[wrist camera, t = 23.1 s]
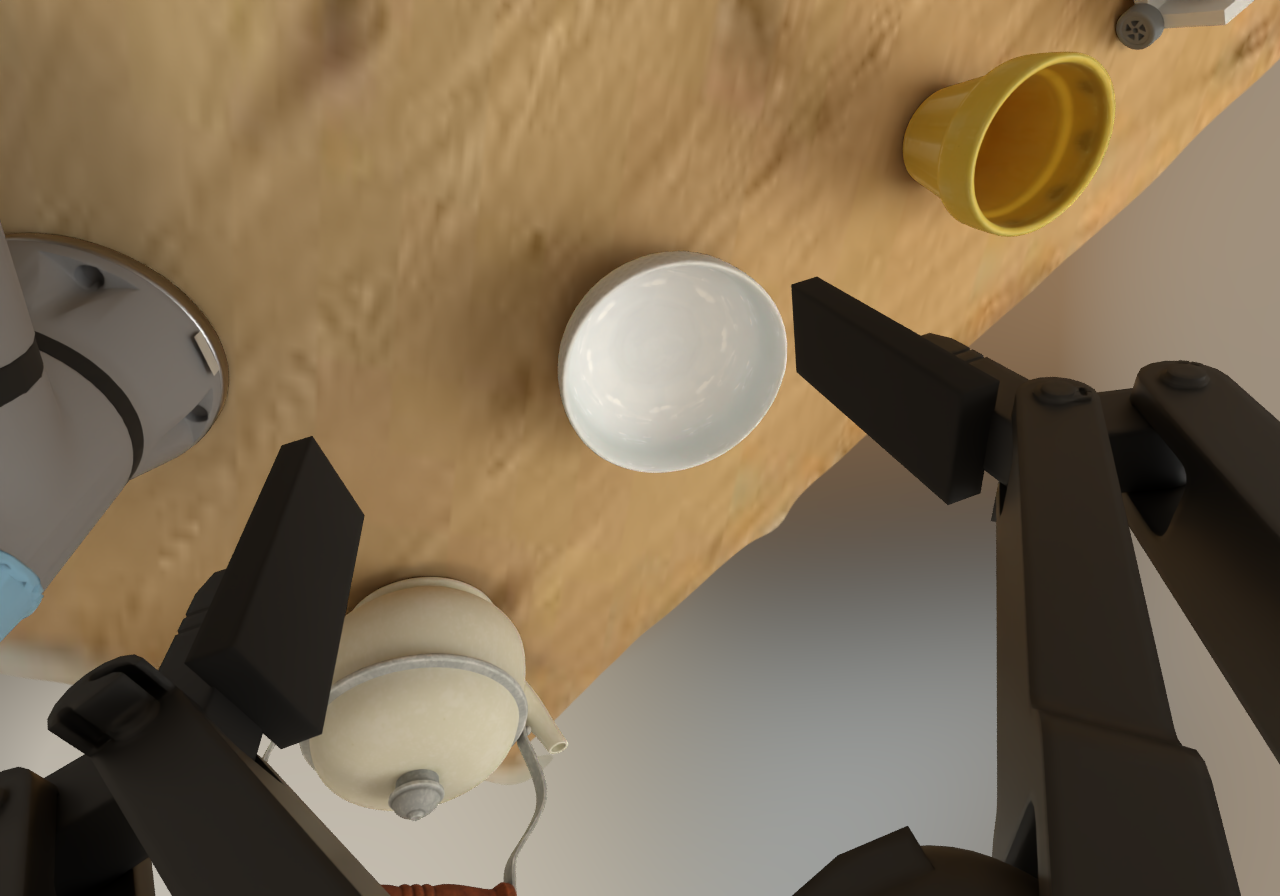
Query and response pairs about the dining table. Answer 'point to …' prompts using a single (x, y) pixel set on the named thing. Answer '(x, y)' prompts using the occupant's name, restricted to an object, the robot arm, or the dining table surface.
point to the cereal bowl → (670, 361)
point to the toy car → (1172, 18)
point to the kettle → (429, 708)
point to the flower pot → (1014, 141)
